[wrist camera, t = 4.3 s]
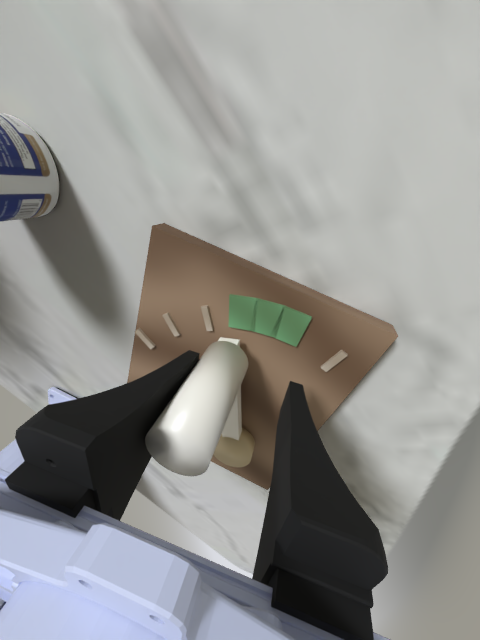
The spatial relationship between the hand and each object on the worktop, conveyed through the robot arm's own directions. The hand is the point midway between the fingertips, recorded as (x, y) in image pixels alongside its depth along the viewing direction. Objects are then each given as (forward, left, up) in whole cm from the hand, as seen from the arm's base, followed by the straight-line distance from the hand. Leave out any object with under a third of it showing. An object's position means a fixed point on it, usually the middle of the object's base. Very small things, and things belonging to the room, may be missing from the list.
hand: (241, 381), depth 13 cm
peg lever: (-4, 0, -2) cm, 5 cm away
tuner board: (-4, +1, -4) cm, 5 cm away
